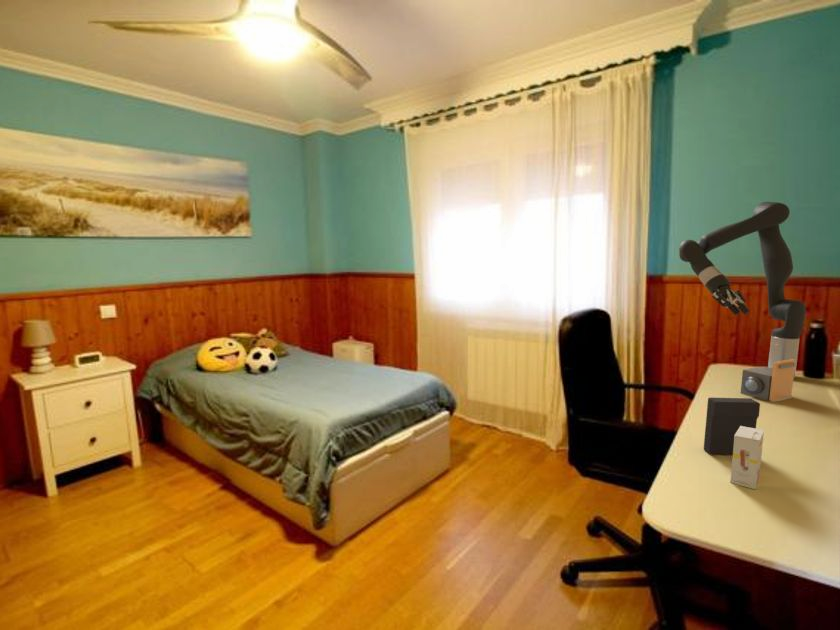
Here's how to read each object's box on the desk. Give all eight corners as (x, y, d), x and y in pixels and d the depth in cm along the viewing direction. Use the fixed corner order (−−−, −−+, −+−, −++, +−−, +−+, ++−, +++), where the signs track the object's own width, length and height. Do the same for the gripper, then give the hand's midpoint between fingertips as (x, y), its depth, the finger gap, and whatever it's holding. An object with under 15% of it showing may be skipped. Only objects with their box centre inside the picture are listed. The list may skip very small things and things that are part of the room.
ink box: (735, 469, 108) (739, 424, 106) (760, 476, 104) (765, 429, 103) (728, 482, 102) (733, 434, 100) (755, 490, 98) (760, 441, 97)
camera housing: (760, 391, 166) (763, 366, 165) (787, 398, 158) (790, 372, 157) (736, 396, 161) (739, 370, 160) (763, 404, 153) (766, 376, 151)
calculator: (744, 450, 118) (749, 397, 116) (754, 457, 114) (760, 402, 112) (701, 448, 119) (706, 396, 117) (710, 455, 115) (715, 401, 113)
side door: (787, 398, 158) (792, 359, 156) (793, 399, 156) (798, 360, 154) (768, 402, 154) (773, 362, 151) (774, 403, 152) (779, 363, 150)
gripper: (709, 274, 169) (738, 308, 159) (733, 273, 174) (763, 306, 165) (694, 286, 174) (722, 320, 165) (718, 285, 180) (746, 318, 170)
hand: (742, 313), depth 165 cm, fingers open, 5 cm apart
